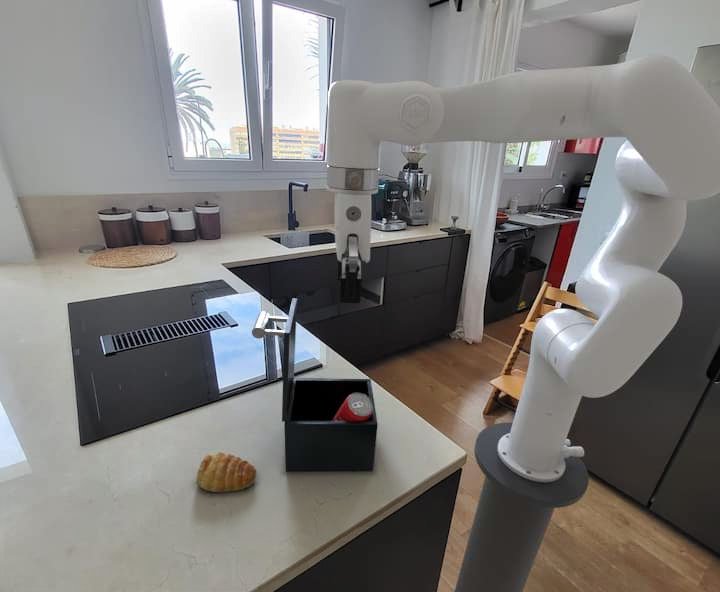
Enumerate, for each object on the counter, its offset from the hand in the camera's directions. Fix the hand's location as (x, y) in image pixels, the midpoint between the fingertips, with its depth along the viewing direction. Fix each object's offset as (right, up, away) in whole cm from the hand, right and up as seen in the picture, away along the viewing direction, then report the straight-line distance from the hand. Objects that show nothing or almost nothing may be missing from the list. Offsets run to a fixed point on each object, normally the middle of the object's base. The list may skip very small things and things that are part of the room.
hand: (348, 290), depth 64 cm
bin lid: (-10, -11, +3) cm, 15 cm away
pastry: (-21, -32, +3) cm, 39 cm away
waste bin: (-4, -29, +12) cm, 32 cm away
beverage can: (-3, -28, +11) cm, 30 cm away
